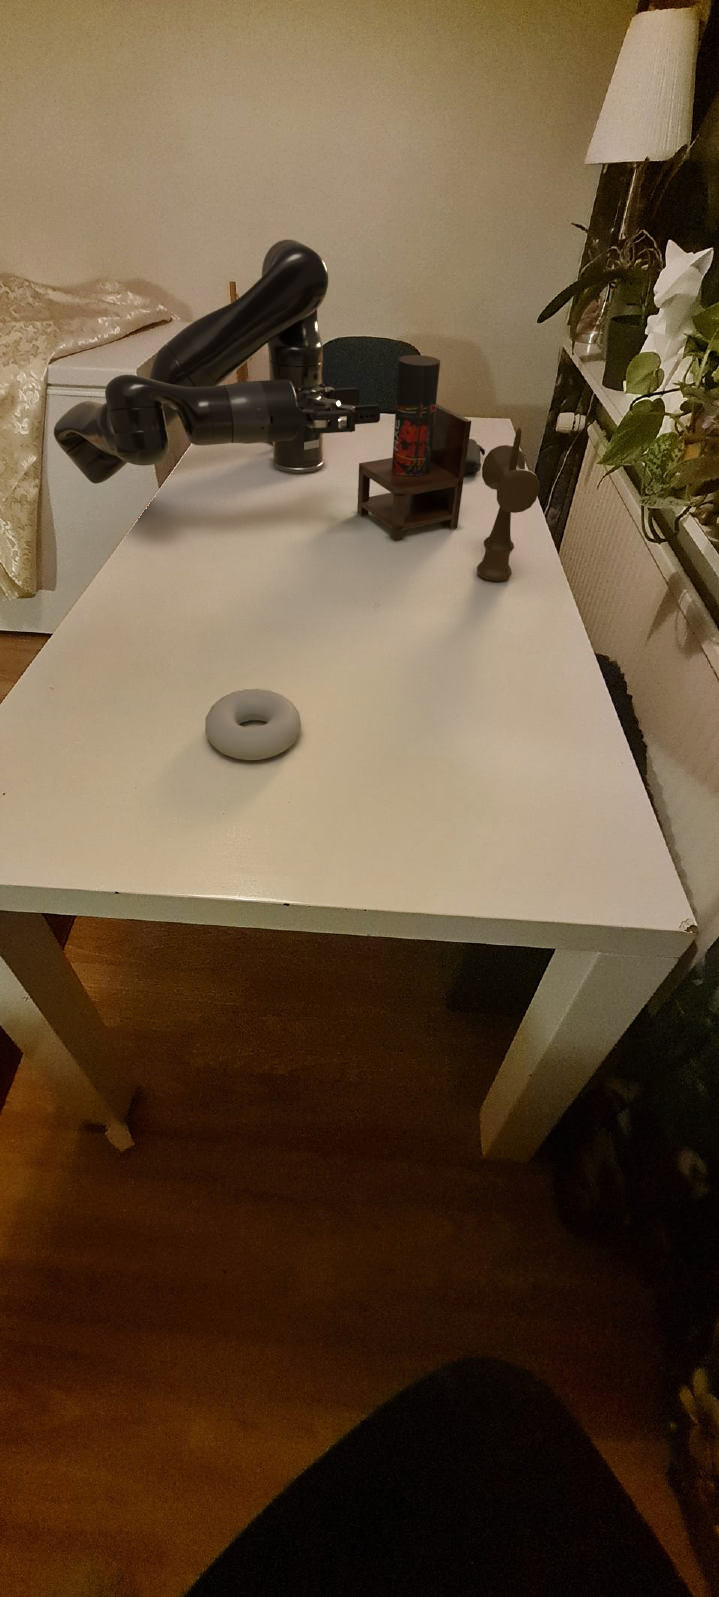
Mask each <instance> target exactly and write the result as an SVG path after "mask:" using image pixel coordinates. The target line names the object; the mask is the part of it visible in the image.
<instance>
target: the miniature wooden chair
mask: <svg viewBox="0 0 719 1597" xmlns="http://www.w3.org/2000/svg"><path fill="white" fill-rule="evenodd" d="M471 426H472V420H470V419H468V418H466V417H464V416H462V415H460V414H458V413H457V412H454V411H452V410H450V409H448V408H447V407H446V408H445V407H444V406H441V405H439V404H437V403H436V411H435V421H434V431H433V441H432V451H431V461H430V471H429V473H428V474H426V475H424V476H418V477H409V476H402V475H399V474H396V473H395V472H393V471H392V459H393V457H388V458H382V459H376V460H369V461H364V462H359V463H358V480H357V481H358V482H357V483H358V486H357V514H358V515H359V516H361V517H365V516H368V515H370V514H371V515H373V516H374V517H376V518H377V519H379V520H380V521H381V522H382V523H384V524H385V525H387V526H388V527H389V528H390V539H392V541H394V542H399V541H403V539H404V538H403V537H404V530H408V529H413V528H417V527H422V526H427V525H431V524H437V523H440V522H441V523H443V524H445V527H447V528H448V529H449V530H453V529H457V528H458V525H459V517H460V512H461V511H460V510H461V503H462V495H463V488H464V481H465V480H464V479H465V476H464V474H465V466H466V459H467V451H468V444H469V439H470V436H471V428H472V427H471ZM371 481H372V482H375V483H376V484H378V485H379V486H380V487H382V488H384V489H385V490H387V492H386V493H382V494H376V495H370V490H371V489H370V488H371ZM369 513H370V514H369Z"/></svg>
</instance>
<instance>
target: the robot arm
mask: <svg viewBox="0 0 719 1597" xmlns="http://www.w3.org/2000/svg"><path fill="white" fill-rule="evenodd" d="M328 287H329V272H328V268H327V265H326V263H325V261H324V260H323V258H322V257H321V256H320V254H318V253H317V252H316V251H315V250H314V249H313V248H311V247H309V246H307V245H306V244H304V243H302V242H300V241H298V240H296V239H289V238H288V239H281V240H279V241H276V242H275V243H274V244H272V246H271V247H269V248H268V251H267V252H266V254H265V256H264V258H263V263H262V267H261V277H260V278H259V279H258V280H257V281H256V282H255V283H254V284H253V285H252V286H251V287H249V289H248V290H247V291H246V292H244V293H243V294H242V295H241V296H239V297H238V298H237V299H235V300H234V301H232V302H230V303H229V304H227V305H224V306H222V307H219V308H218V309H216V310H213V311H212V312H210V313H207V314H205V315H204V316H201V317H200V318H197V319H196V320H194V321H193V322H191V323H189V324H187V326H185V327H184V328H182V329H181V330H180V331H179V332H178V333H177V334H176V335H175V336H173V337H172V338H171V339H170V340H168V341H167V342H166V343H165V344H164V345H163V346H161V347H160V348H159V350H158V351H157V352H156V355H155V356H154V359H153V362H152V365H151V369H150V372H149V376H148V377H144V376H141V375H135V374H121V375H118V376H115V377H113V378H112V379H111V380H109V382H108V383H107V384H106V386H105V390H104V397H105V402H104V403H100V402H96V401H92V400H85V401H82V402H79V403H77V404H75V405H74V406H73V407H71V408H70V409H69V410H67V411H66V412H65V413H64V414H63V415H62V416H61V417H60V418H59V419H58V420H57V422H55V425H54V427H53V437H54V439H55V441H56V443H57V445H58V446H59V448H61V450H62V451H63V452H64V453H65V454H66V456H67V457H68V458H69V459H70V460H71V461H72V462H73V464H74V465H75V466H76V468H78V469H79V470H80V472H81V473H82V474H83V475H84V476H85V478H86V479H87V480H88V481H89V482H91V483H92V484H101V483H104V482H105V481H107V480H109V479H111V477H113V476H114V475H115V474H117V473H118V472H119V471H120V470H121V469H122V468H123V467H124V466H125V465H127V464H131V465H134V466H142V467H145V466H152V465H153V466H154V465H157V464H159V463H161V462H162V461H164V459H165V458H166V457H167V456H168V454H169V450H170V439H169V433H168V428H167V427H168V426H169V425H171V424H172V423H173V422H174V421H176V420H177V419H178V418H179V420H180V422H181V424H182V427H183V430H184V432H185V435H186V437H187V439H188V441H189V442H190V443H191V444H192V445H194V446H199V447H200V446H201V447H202V446H212V445H213V446H214V445H227V444H243V445H249V444H251V445H252V444H263V443H269V444H271V445H272V453H273V454H272V455H273V456H272V464H273V467H274V468H275V469H276V470H278V471H281V472H286V473H291V474H307V473H313V472H316V471H319V470H321V469H322V468H323V467H324V434H337V433H353V432H355V431H356V425H365V424H366V425H367V424H377V423H379V422H380V420H381V406H380V405H379V404H377V403H374V404H371V403H370V404H362V405H361V404H360V405H359V403H360V389H358V388H357V387H340V388H334V387H333V386H326V384H324V346H323V341H322V338H321V334H320V329H319V323H318V320H319V319H318V308H319V307H320V306H321V304H323V302H324V299H325V298H326V295H327V292H328ZM265 345H267V352H268V367H269V371H268V372H269V379H268V380H267V379H266V380H252V381H251V380H249V381H238V382H233V383H230V384H229V383H228V384H222V383H224V382H225V381H226V380H227V379H228V378H229V377H230V376H231V375H233V374H234V373H235V372H236V371H238V370H239V369H240V368H241V367H242V366H243V365H244V364H246V362H248V361H249V360H250V359H251V358H252V357H253V356H254V355H255V354H256V353H257V352H258V351H260V350H261V349H262V348H263V347H264V346H265ZM342 418H346V419H342Z"/></svg>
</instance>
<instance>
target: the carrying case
mask: <svg viewBox="0 0 719 1597" xmlns="http://www.w3.org/2000/svg"><path fill="white" fill-rule="evenodd" d="M485 455H486V450H485V448H483V447H482V445H481V444H478V442H477V440H475V439H473V438H469V444H468V451H467V459H466V466H465V474H464V477H472V476H475V475H476V474H477V473H478V472H480V471H481V469H482V462H481V461H482V460H481V456H483V457H484V456H485Z"/></svg>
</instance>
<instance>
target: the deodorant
mask: <svg viewBox="0 0 719 1597" xmlns="http://www.w3.org/2000/svg"><path fill="white" fill-rule="evenodd" d="M440 370H441V360H440V359H439V358H437V357H434V356H430V355H422V354H408V355H403V356H401V357H399V358H398V367H397V383H396V397H395V413H394V414H395V415H394V427H393V428H394V430H393V447H392V458H393V459H392V471H393V472H395V473H396V474H399V475H402V476H409V477H418V476H424V475H426V474H428V473H429V471H430V461H431V451H432V441H433V431H434V421H435V411H436V404H437V399H438V392H439V391H438V390H439V381H440V380H439V379H440Z"/></svg>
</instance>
